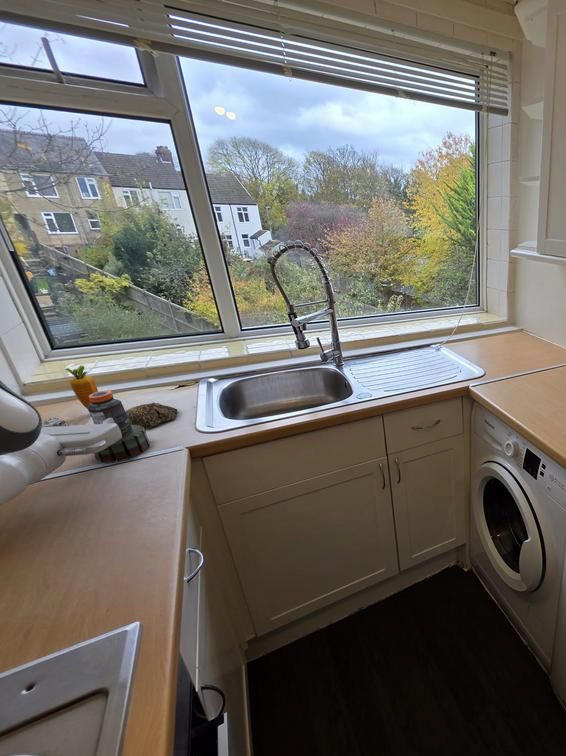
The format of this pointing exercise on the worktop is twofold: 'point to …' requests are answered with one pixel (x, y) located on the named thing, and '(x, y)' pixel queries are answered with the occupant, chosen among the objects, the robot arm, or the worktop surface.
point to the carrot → (82, 385)
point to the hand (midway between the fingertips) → (86, 422)
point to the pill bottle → (109, 410)
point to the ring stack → (125, 446)
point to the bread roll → (150, 414)
